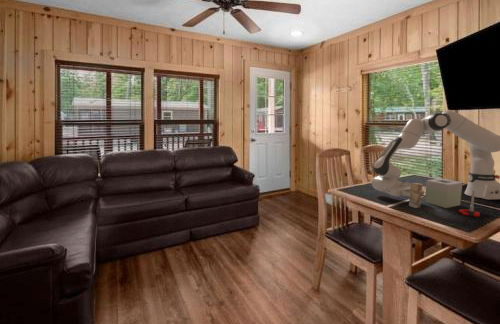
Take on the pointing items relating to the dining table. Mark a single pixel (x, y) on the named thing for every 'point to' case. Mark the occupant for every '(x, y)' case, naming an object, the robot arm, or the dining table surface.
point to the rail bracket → (415, 195)
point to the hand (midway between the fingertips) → (417, 193)
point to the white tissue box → (443, 192)
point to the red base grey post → (470, 211)
